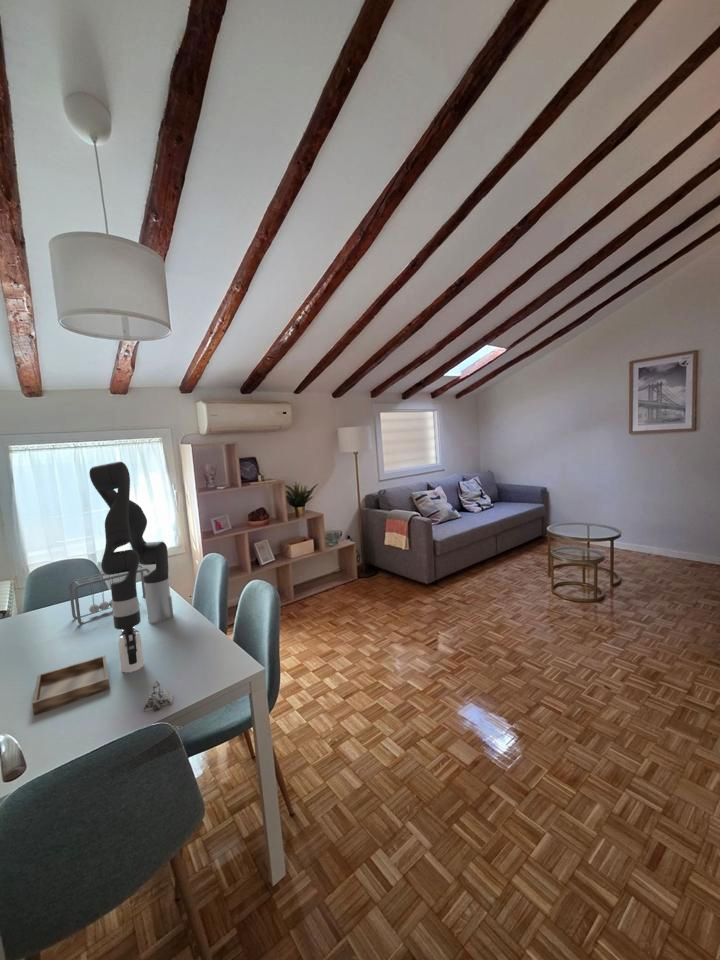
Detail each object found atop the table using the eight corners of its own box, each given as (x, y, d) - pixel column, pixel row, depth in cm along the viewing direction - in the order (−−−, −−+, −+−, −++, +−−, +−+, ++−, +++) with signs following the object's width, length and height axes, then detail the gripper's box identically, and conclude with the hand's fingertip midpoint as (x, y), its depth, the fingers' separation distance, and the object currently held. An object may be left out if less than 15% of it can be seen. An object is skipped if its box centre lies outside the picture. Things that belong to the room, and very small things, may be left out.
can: (133, 674, 129) (129, 639, 128) (116, 673, 130) (112, 638, 129) (148, 663, 135) (144, 629, 134) (131, 662, 137) (128, 629, 136)
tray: (106, 665, 136) (105, 655, 136) (109, 689, 121) (108, 678, 121) (39, 685, 126) (37, 675, 126) (33, 715, 111) (32, 703, 111)
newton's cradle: (145, 599, 198) (141, 564, 197) (153, 603, 191) (149, 567, 189) (72, 620, 176) (67, 581, 175) (78, 627, 169) (73, 586, 168)
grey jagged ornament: (131, 727, 104) (128, 699, 104) (139, 707, 113) (136, 681, 112) (169, 719, 107) (166, 691, 106) (174, 699, 115) (171, 674, 114)
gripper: (142, 614, 127) (147, 663, 129) (136, 601, 139) (141, 646, 140) (114, 621, 123) (120, 671, 125) (111, 607, 135) (116, 653, 136)
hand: (131, 658), depth 132 cm, fingers open, 8 cm apart
